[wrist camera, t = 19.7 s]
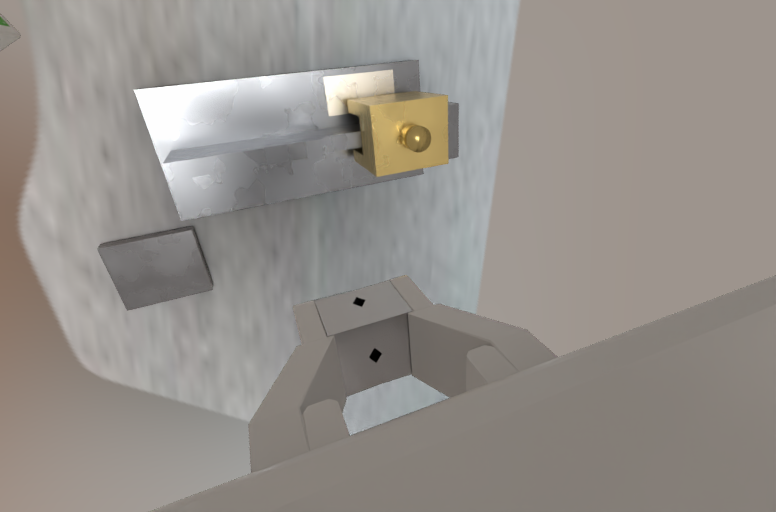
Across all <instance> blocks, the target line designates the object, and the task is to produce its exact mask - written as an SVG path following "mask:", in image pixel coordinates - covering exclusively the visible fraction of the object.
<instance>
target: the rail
mask: <svg viewBox="0 0 776 512" xmlns="http://www.w3.org/2000/svg"><path fill="white" fill-rule="evenodd" d="M410 91H418V92H420V81H419V60H411V61H401V62H392V63H382V64H373V65H363V66H354V67H344V68H334V69H325V70H315V71H306V72H296V73H286V74H277V75H267V76H258V77H248V78H238V79H229V80H219V81H210V82H200V83H191V84H181V85H171V86H162V87H152V88H143V89H135V90H134V92H135V94H136V97H137V100H138V103H139V106H140V108H141V111H142V114H143V117H144V119H145V122H146V125H147V128H148V131H149V133H150V136H151V139H152V142H153V144H154V147H155V150H156V153H157V156H158V158H159V161H160V164H161V167H162V169H163V172H164V175H165V178H166V180H167V183H168V186H169V189H170V192H171V194H172V197H173V200H174V203H175V205H176V208H177V211H178V214H179V217H180V219H181V221H184V220H189V219H194V218H200V217H205V216H210V215H215V214H220V213H225V212H230V211H236V210H241V209H246V208H251V207H256V206H261V205H266V204H272V203H277V202H282V201H287V200H292V199H297V198H303V197H308V196H313V195H318V194H323V193H328V192H333V191H339V190H344V189H349V188H354V187H359V186H364V185H370V184H375V183H380V182H385V181H390V180H395V179H400V178H406V177H411V176H416V175H421V174H423V168H422V169H416V170H411V171H406V172H401V173H395V174H390V175H385V176H379V177H376V176H375V175H373V174H372V173H371V172H369V171H368V170H367V169H365V168H364V167H363V166H361V165H360V164H358V163H357V162H356V161H354V153H353V149H357V148H362V139H361V130H360V122H359V116H356V115H354V114H351V113H348V105H347V100H348V99H356V98H363V97H371V96H379V95H387V94H395V93H403V92H410ZM456 157H458V103H452V102H448V159H450V158H456Z"/></svg>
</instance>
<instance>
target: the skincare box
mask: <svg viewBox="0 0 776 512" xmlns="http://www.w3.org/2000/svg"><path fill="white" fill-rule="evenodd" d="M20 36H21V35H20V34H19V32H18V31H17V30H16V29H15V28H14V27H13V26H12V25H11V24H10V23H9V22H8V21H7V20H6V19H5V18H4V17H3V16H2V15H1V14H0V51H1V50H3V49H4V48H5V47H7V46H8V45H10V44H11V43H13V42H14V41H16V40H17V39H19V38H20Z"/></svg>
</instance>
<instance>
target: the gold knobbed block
mask: <svg viewBox="0 0 776 512" xmlns="http://www.w3.org/2000/svg"><path fill="white" fill-rule="evenodd" d="M347 105H348V113H351V114H354V115H356V116H359V122H360V130H361V139H362V148H357V149H353V153H354V161H356V162H357V163H358V164H360V165H361V166H363V167H364V168H365V169H367V170H368V171H369V172H371V173H372V174H373V175H375V176H376V177H379V176H385V175H390V174H395V173H401V172H406V171H411V170H416V169H422V168H427V167H432V166H438V165H443V164H448V95H441V94H433V93H426V92H418V91H410V92H403V93H395V94H387V95H379V96H371V97H363V98H356V99H348V100H347Z"/></svg>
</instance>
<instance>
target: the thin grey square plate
mask: <svg viewBox="0 0 776 512" xmlns="http://www.w3.org/2000/svg"><path fill="white" fill-rule="evenodd" d="M97 250H98V252H99V254H100V256H101V258H102V260H103V262H104V264H105V266H106V268H107V270H108V272H109V274H110V276H111V278H112V280H113V282H114V284H115V287H116V289H117V291H118V293H119V295H120V297H121V299H122V301H123V303H124V305H125V307H126V309H127V311H128V310H132V309H136V308H140V307H144V306H148V305H152V304H156V303H161V302H165V301H169V300H173V299H177V298H181V297H185V296H189V295H193V294H197V293H201V292H206V291H210V290H213V283H212V280H211V277H210V275H209V272H208V269H207V266H206V263H205V260H204V257H203V254H202V252H201V249H200V246H199V243H198V240H197V237H196V234H195V231H194V229H193V226H189V227H184V228H179V229H174V230H169V231H164V232H159V233H154V234H149V235H144V236H139V237H134V238H129V239H124V240H119V241H114V242H109V243H104V244H100V246H99V247H98V249H97Z"/></svg>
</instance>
